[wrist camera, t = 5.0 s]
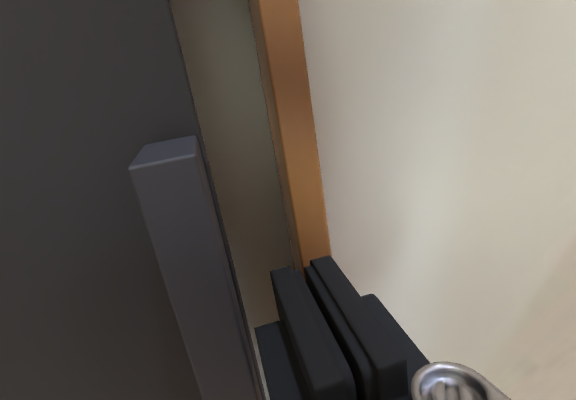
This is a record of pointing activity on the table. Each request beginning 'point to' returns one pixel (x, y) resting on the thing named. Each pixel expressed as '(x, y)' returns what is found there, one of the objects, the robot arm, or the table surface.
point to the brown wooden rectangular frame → (292, 125)
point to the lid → (110, 214)
